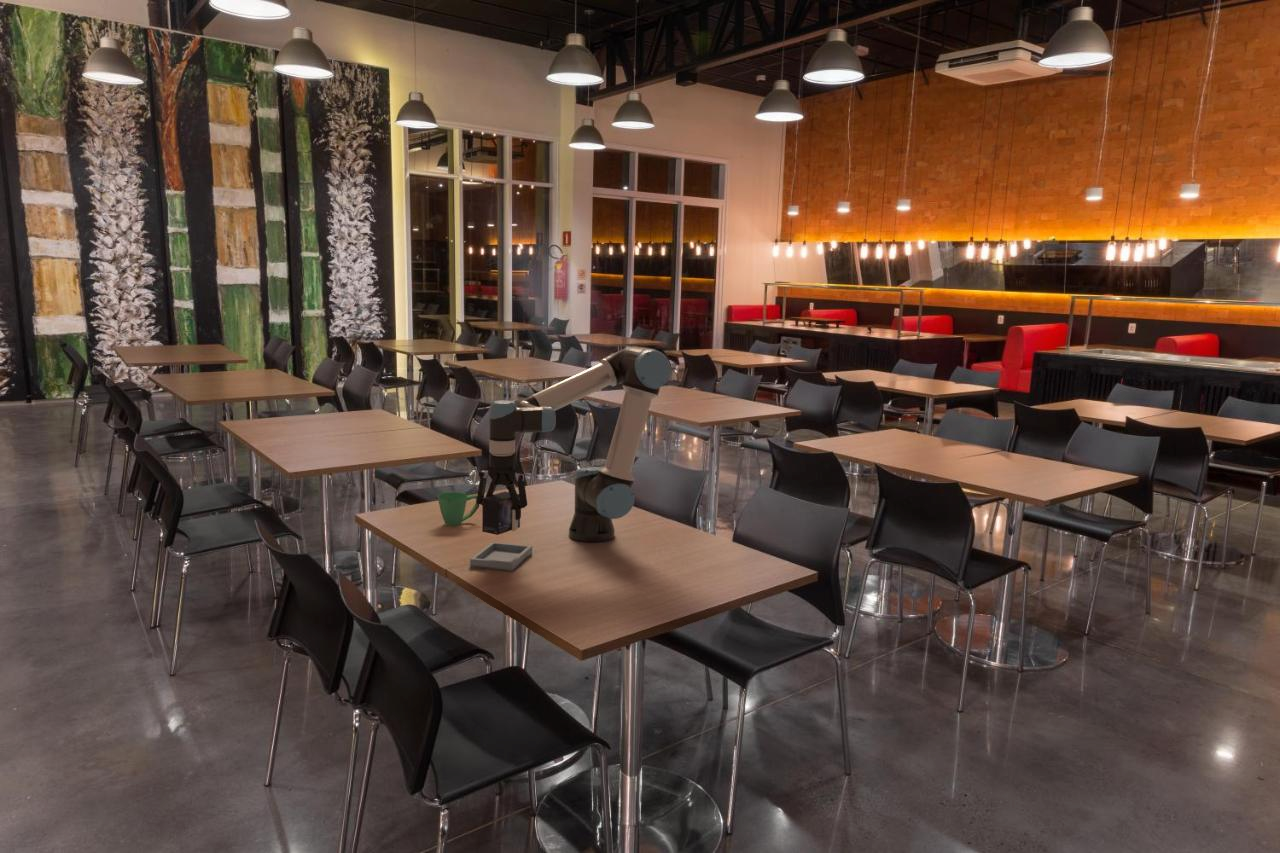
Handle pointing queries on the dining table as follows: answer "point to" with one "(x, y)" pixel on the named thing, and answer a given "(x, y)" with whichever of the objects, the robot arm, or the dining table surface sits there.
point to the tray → (501, 556)
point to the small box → (497, 513)
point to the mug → (455, 507)
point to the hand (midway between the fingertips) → (501, 528)
